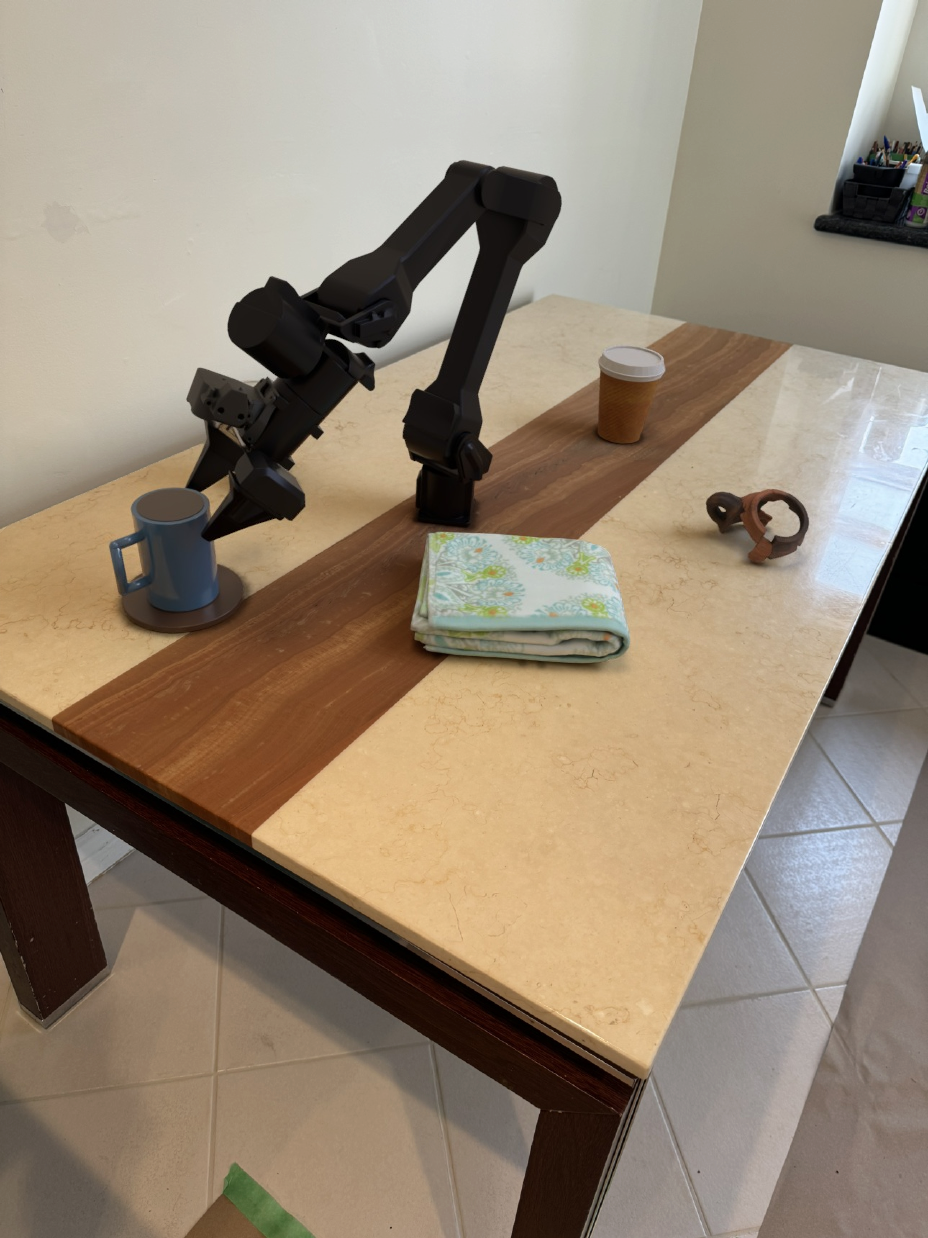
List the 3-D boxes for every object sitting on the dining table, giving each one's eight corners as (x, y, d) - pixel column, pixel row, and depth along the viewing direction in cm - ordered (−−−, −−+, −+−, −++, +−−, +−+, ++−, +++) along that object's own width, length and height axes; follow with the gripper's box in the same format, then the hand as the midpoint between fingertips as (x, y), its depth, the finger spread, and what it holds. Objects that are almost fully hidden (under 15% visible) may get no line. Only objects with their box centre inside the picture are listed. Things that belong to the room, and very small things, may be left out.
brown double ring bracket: (785, 530, 111) (821, 496, 103) (772, 592, 107) (809, 561, 99) (698, 494, 110) (728, 458, 103) (682, 555, 106) (712, 522, 99)
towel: (421, 556, 99) (423, 517, 96) (607, 570, 99) (615, 531, 96) (408, 656, 84) (410, 614, 81) (626, 672, 85) (636, 631, 82)
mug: (193, 564, 93) (181, 479, 87) (234, 592, 90) (224, 506, 84) (104, 602, 87) (85, 513, 81) (144, 634, 83) (127, 544, 77)
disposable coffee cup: (579, 439, 127) (591, 359, 120) (596, 416, 135) (609, 339, 128) (642, 454, 125) (659, 372, 118) (656, 429, 132) (673, 351, 125)
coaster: (259, 573, 94) (258, 567, 94) (221, 640, 85) (220, 634, 84) (151, 559, 95) (150, 554, 94) (101, 624, 85) (100, 618, 85)
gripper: (216, 308, 84) (114, 427, 86) (261, 379, 70) (137, 518, 73) (300, 380, 91) (203, 488, 94) (355, 457, 78) (240, 581, 80)
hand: (195, 515), depth 85 cm, fingers open, 9 cm apart
